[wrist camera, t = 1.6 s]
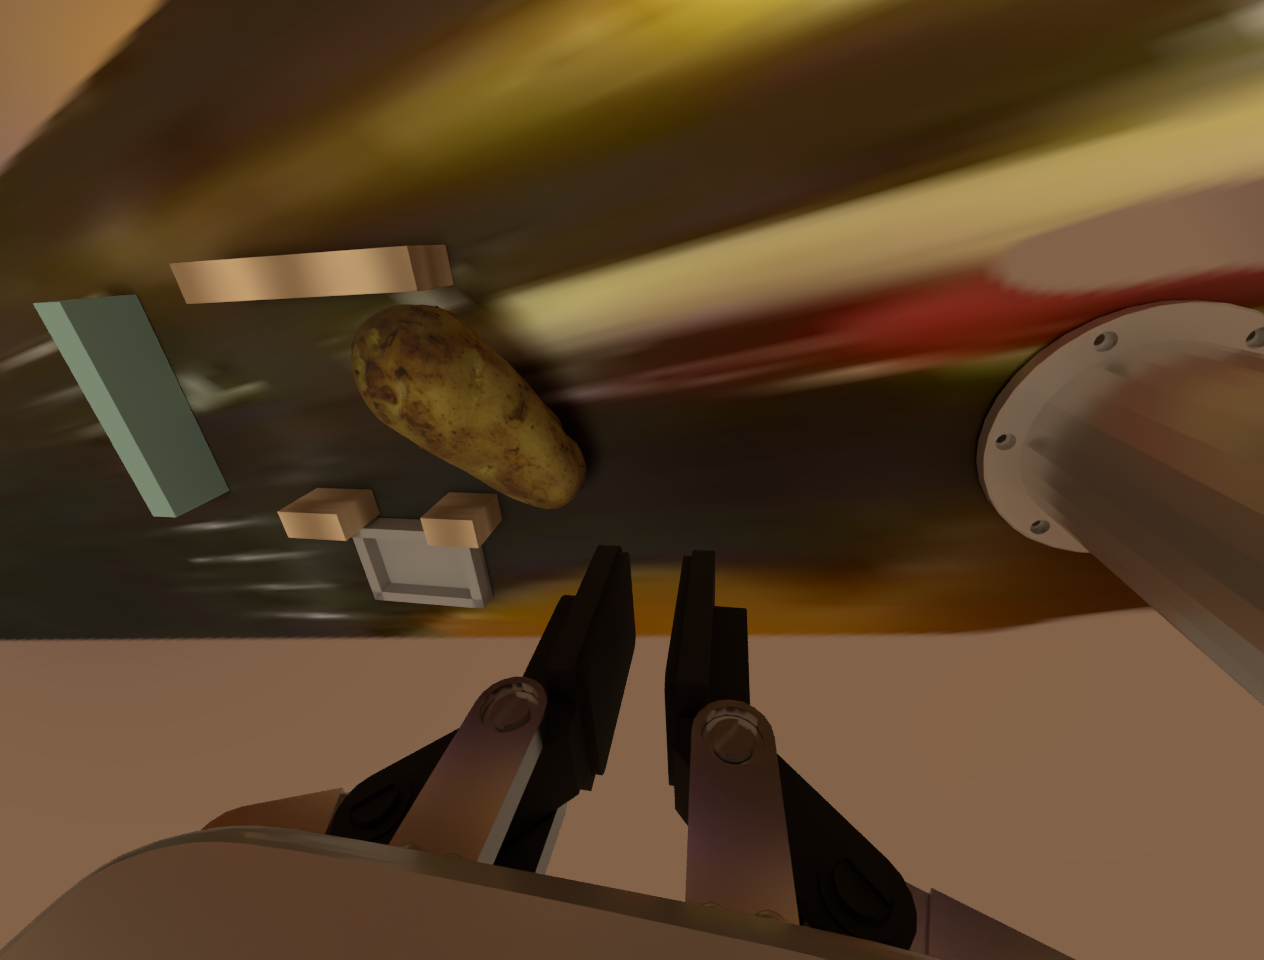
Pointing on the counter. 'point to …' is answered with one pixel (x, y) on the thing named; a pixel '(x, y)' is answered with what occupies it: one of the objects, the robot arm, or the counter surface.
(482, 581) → the grey tray
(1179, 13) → the counter surface
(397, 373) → the potato
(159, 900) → the robot arm
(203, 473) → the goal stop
